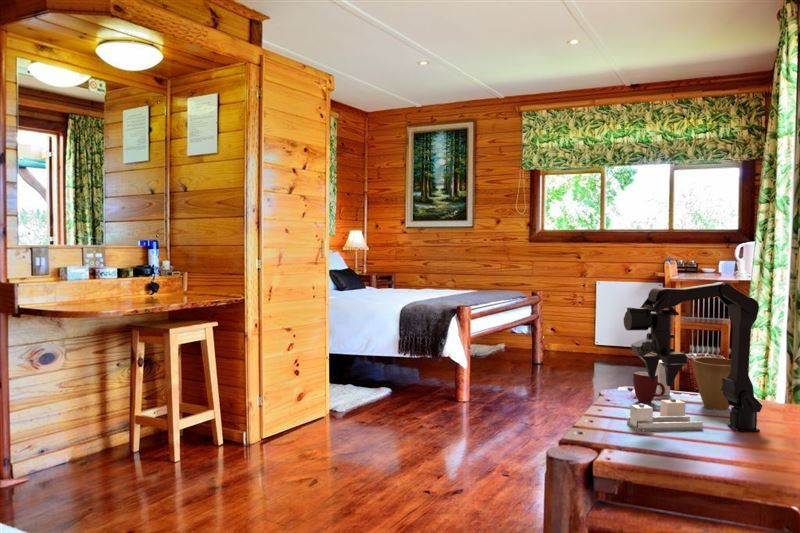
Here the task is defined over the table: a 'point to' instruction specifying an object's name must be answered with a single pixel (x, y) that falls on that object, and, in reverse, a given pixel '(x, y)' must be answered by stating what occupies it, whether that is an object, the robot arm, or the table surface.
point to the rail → (659, 420)
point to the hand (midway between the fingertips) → (659, 382)
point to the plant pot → (712, 380)
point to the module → (672, 408)
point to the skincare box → (662, 379)
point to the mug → (646, 387)
